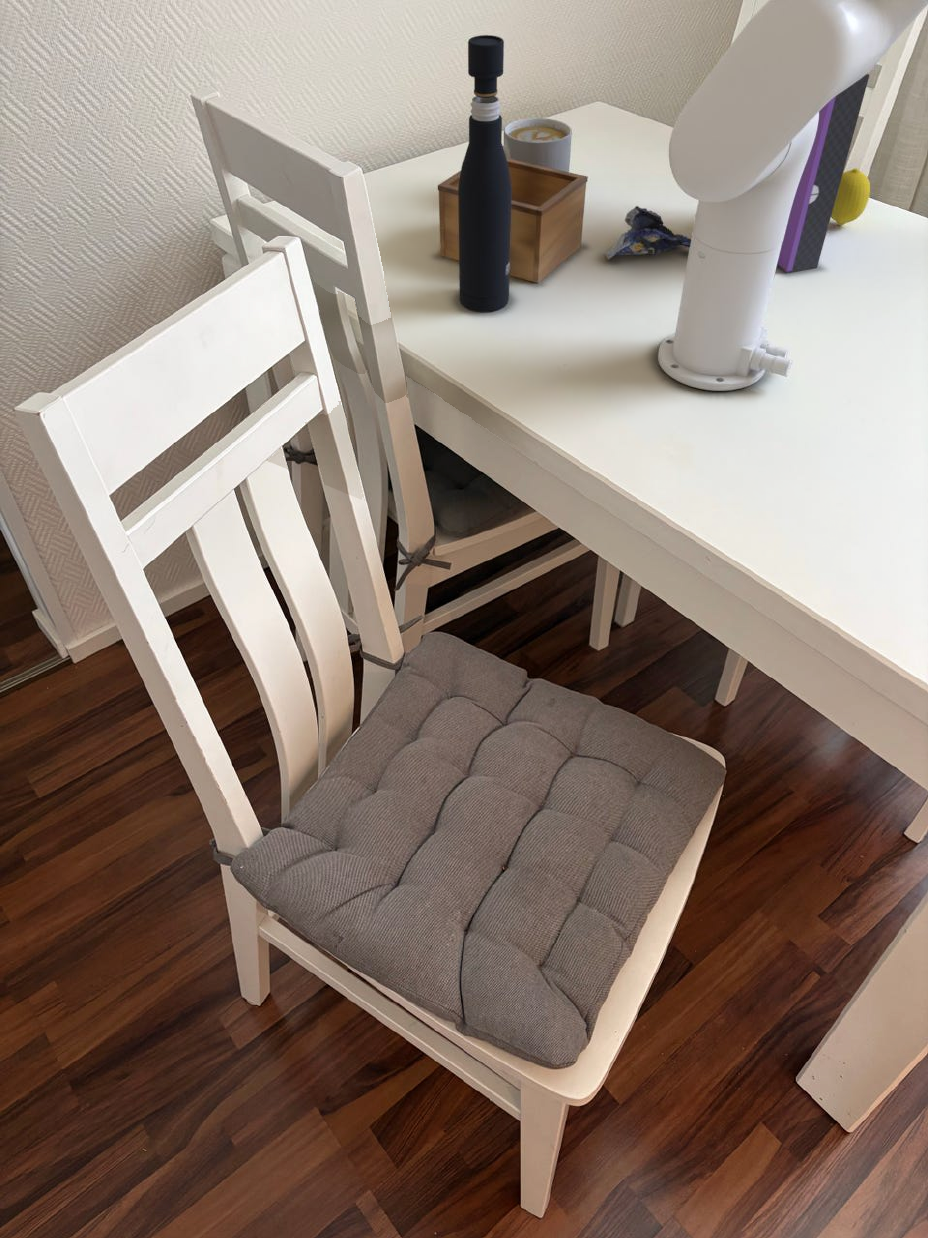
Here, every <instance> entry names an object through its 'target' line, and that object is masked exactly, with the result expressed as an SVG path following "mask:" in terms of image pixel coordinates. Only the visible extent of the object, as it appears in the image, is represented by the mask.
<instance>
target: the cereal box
mask: <svg viewBox="0 0 928 1238" xmlns="http://www.w3.org/2000/svg"><path fill="white" fill-rule="evenodd" d="M869 79H870V74H868V73H867V74H866V75H865V76H864V77H862V78H861V79H860V80H858V81H857V82H855V83H854V84H852V85H851V86H850V87H848V88H847V89H845V90H844V91H842V92H841V93H839V94H838V95H837V96H835V97H834V98H833V99H831V100H830V101H829V102H828V103H827V104H826V105H825V106H824V107H823V108H822V109H821V110H820V111H819V121H818V127H817V132H816V136H815V139H814V143H813V146H812V149H811V152H810V155H809V157H808V160H807V163H806V165H805V168H804V171H803V174H802V176H801V179H800V182H799V185H798V188H797V191H796V194H795V197H794V200H793V204H792V207H791V211H790V215H789V219H788V223H787V227H786V231H785V235H784V239H783V242H782V246H781V250H780V254H779V258H778V263H777V268H779V269H780V270H782V271H783V272H784V273H786V274H790V273H796V272H802V271H807V270H812V269H817V268H818V266H819V263H820V258H821V254H822V251H823V247H824V244H825V241H826V236H827V232H828V229H829V225H830V222H831V219H832V218H831V215H832V211H833V207H834V204H835V200H836V196H837V193H838V189H839V185H840V182H841V178H842V174H843V173H844V172H845V167H846V163H847V160H848V156H849V153H850V149H851V145H852V142H853V138H854V134H855V130H856V126H857V122H858V119H859V115H860V112H861V108H862V104H863V100H864V97H865V94H866V90H867V86H868V83H869Z"/></svg>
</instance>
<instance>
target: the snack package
mask: <svg viewBox="0 0 928 1238" xmlns="http://www.w3.org/2000/svg"><path fill="white" fill-rule="evenodd" d="M624 222H625V224H626V225H628V226H629V227H630V229H628V230H627V231H626V232H624V233H622V234H621V235H620V237H619V238H618V239H617V241H616V243H615V245H614V246H613V247H611V248H610V250H609V251H607V252H604V256H605V257H606V258H607V261H610V259H612V258H613V257H614V256H630V255H631V256H632V255H656V254H660V253H662V252H666V251H668V250H670V249H674V248H676V247H679V246H680V247H685V248H690V244H691V238H689V237H688V236H684V235H682V234H678V233H677V234H674V232H673V231H672V230H671V229H669V228H668V227H667V226H665V225H664V221H663V219H662V216H661V215H659V214H658V213H657V212H655V211H652V210H648V209H647V208H645V207H644V208H641V207H640V206H638V205H636V206H635V207H633V208H632V209H631V210H629V211H628V212H627V213H626V216H625V218H624ZM685 253H686V254H688V251H685Z"/></svg>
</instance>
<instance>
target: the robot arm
mask: <svg viewBox="0 0 928 1238" xmlns="http://www.w3.org/2000/svg"><path fill="white" fill-rule="evenodd" d="M927 6H928V0H768V1H766V3H765V4H763V6H762V7H761V8H760V9H759V10H758V11H757V12H756V13H755V14H754V15H753V16H752V17H751V19H750V20H749V21H748V22H747V23H746V25H745V26H744V27H743V28H742V30H741V31H740V33H739V34H738V35H737V36H736V38H735V39H734V41H732V43H731V45H729V47H728V49H727V50H726V51H725V52H724V54H723V55H721V57H720V59H719V60H718V61H717V63H716V64H715V66H714V67H713V68H712V70H711V71H710V72H709V73H708V74H707V76H706V77H705V79H704V80H703V81H702V83H701V84H700V85H699V87H698V88H697V89H696V91H694V93H693V94H692V95H691V97H690V99H689V100H688V101H687V103H686V104H685V106H684V107H683V108H682V110H681V111H680V113H679V115H678V116H677V118H676V121H675V122H674V125H673V128H672V131H671V133H670V138H669V144H668V163H669V167H670V171H671V174H672V177H673V179H674V181H675V183H676V184H677V186H678V187H679V188H680V190H682V191H683V192H684V193H685V194H686V195H687V196H689V197H690V198H692V199H695V200H697V201H698V202H697V206H696V211H695V216H694V222H693V227H692V233H691V238H690V239H691V244H690V247H689V250H688V255H687V262H686V267H685V274H684V279H683V286H682V292H681V299H680V302H679V303H680V304H679V309H678V315H677V321H676V327H675V332H673V333H672V334H670V335H668V336H666V337H665V338H664V339H663V341H662V342H661V343H660V345H659V348H658V355H657V360H658V364H659V366H660V367H661V370H663V372H665V374H666V375H668V376H669V377H670V378H672V379H673V380H675V381H677V382H679V383H681V384H683V385H686V386H688V387H692V388H695V389H700V390H705V391H716V392H717V391H719V392H725V391H726V392H727V391H734V390H739V389H743V388H747V387H749V386H751V385H753V384H756V383H757V382H758V381H759V380H760V379H762V377H763V376H764V374H765V373H766V371H768V372H770V373H772V374H775V375H779V376H782V377H787V376H788V375H789V373H790V370H791V369H792V366H793V359H792V358H788V354H789V348H784V347H782V346H776V345H772V344H770V341H767V336H768V333H769V328H766V327H763V325H764V320H765V316H766V311H767V308H768V304H769V300H770V295H771V291H772V287H773V284H774V279H775V278H774V277H775V275H776V270H777V268H778V266H777V263H778V258H779V254H780V250H781V246H782V242H783V239H784V235H785V231H786V227H787V223H788V219H789V215H790V211H791V207H792V204H793V200H794V197H795V194H796V191H797V188H798V185H799V182H800V179H801V176H802V174H803V171H804V168H805V165H806V163H807V160H808V157H809V155H810V152H811V149H812V146H813V143H814V139H815V136H816V132H817V127H818V121H819V111H820V110H821V109H822V108H823V107H824V106H825V105H826V104H827V103H828V102H829V101H830V100H831V99H833V98H834V97H835V96H837V95H838V94H839V93H841V92H842V91H844V90H845V89H847V88H848V87H850V86H851V85H852V84H854V83H855V82H857V81H858V80H860V79H861V78H862V77H864V76H865V75H866V74H868V73H870V71H872V70H873V68H874V67H875V66H876V65H878V64H879V62H880V60H881V59H882V58H883V57H884V55H885V54H886V53H887V52H888V50H889V49H890V48H891V47H892V46H893V45H894V43H895V42H896V41H897V39H899V38H900V36H901V35H902V34H903V33H904V32H905V30H906V29H907V28H908V27H909V26H911V24H912V22H914V21H915V20H916V19H917V17H918V16H919V15H920V14H921V13H922V12H923V11H924V9H926V8H927Z"/></svg>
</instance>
